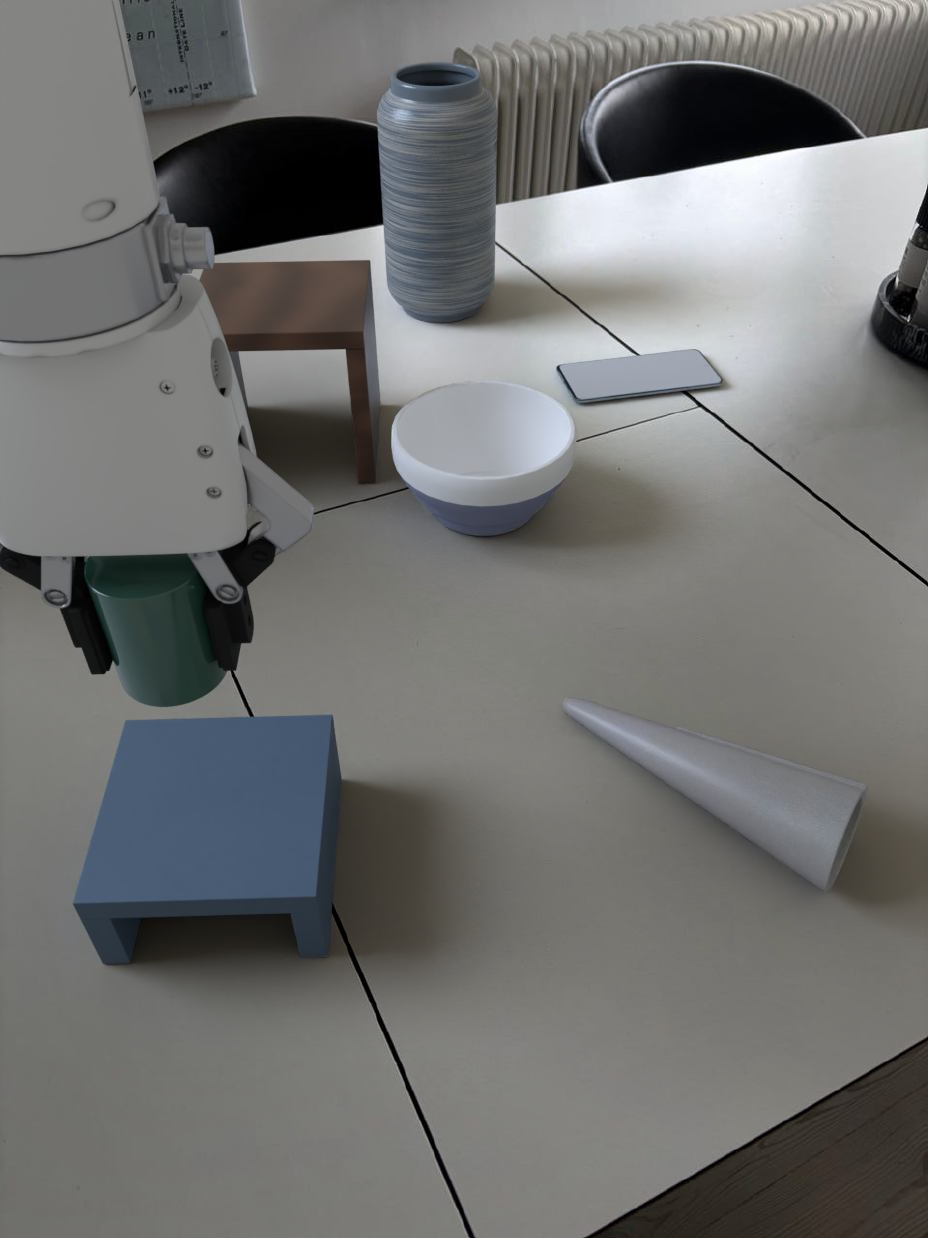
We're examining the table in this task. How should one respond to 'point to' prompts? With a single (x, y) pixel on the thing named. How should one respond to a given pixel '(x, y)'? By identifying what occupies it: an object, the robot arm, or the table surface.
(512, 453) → the bowl
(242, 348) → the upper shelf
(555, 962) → the table surface
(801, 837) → the long tapered cone
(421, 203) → the vase
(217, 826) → the lower shelf
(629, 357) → the smartphone
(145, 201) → the robot arm
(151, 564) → the jar
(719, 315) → the table surface
